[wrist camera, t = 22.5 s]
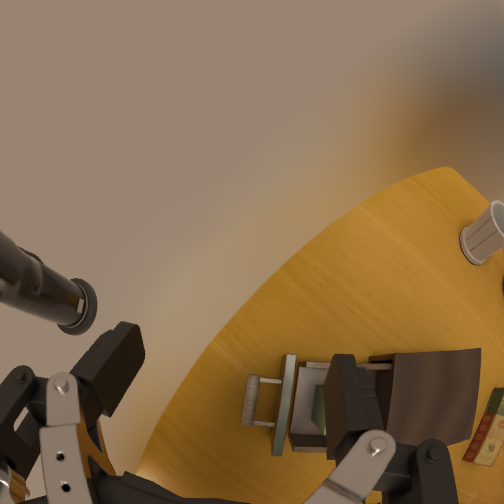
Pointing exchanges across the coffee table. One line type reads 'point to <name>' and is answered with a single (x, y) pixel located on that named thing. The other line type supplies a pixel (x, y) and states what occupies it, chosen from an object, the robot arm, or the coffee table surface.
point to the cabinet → (432, 395)
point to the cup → (484, 234)
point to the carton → (489, 432)
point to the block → (319, 409)
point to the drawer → (304, 402)
